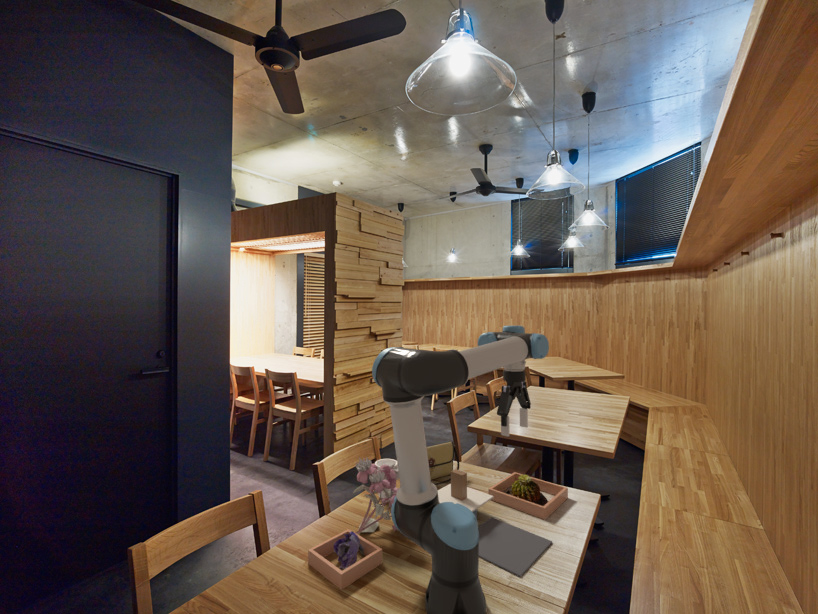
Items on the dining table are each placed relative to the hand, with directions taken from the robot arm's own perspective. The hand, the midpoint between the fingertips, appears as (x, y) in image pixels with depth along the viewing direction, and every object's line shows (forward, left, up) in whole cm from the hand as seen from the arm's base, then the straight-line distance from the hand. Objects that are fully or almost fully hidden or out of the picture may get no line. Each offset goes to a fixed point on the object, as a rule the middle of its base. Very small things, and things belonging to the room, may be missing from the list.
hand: (514, 431), depth 133 cm
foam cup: (-14, +50, -33) cm, 61 cm away
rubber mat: (-12, -2, -33) cm, 35 cm away
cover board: (-7, +19, -27) cm, 33 cm away
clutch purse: (+8, +44, -33) cm, 56 cm away
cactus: (+20, +6, -33) cm, 39 cm away
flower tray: (-52, +28, -33) cm, 67 cm away
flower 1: (-50, +28, -33) cm, 66 cm away
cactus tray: (+22, +6, -33) cm, 40 cm away
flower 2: (-31, +31, -33) cm, 55 cm away
